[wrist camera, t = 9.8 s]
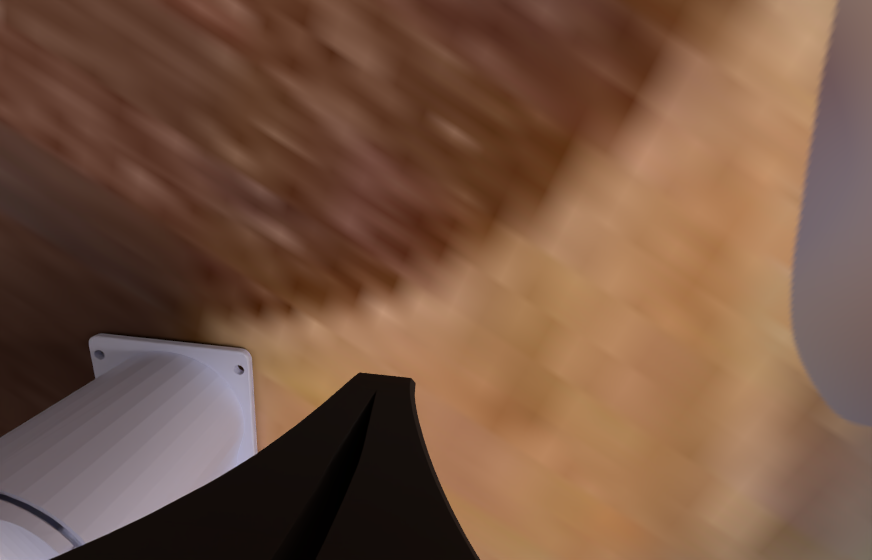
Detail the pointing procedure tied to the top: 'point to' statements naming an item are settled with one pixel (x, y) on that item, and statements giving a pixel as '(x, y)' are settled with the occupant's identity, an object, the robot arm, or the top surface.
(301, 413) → the top surface
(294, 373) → the top surface
